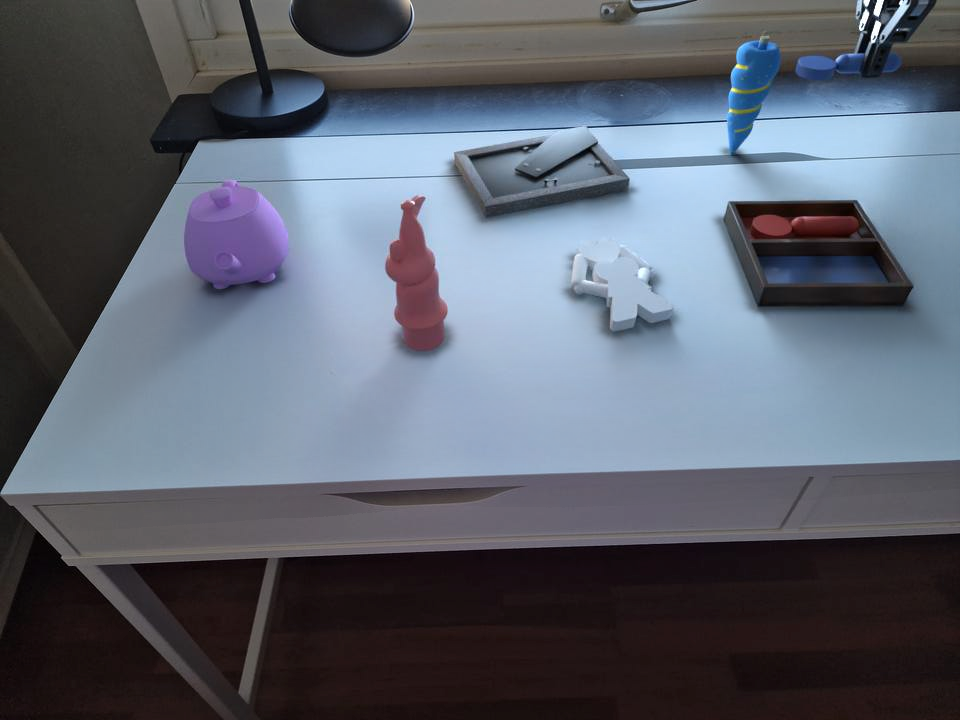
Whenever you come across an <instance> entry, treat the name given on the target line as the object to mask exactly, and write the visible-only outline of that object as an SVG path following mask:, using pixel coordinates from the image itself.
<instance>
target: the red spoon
mask: <svg viewBox="0 0 960 720" xmlns="http://www.w3.org/2000/svg"><path fill="white" fill-rule="evenodd" d="M858 227H859V223H858V221H857V219H856V218H854V217H851V216H821V217H797V218H795V219H794V220H793V221H792V222H791V224H790V223H789V222H788V221H787V220H786V219H784V218H782V217H779V216H776V215H760V216H758V217H756V218H755V219H754V220H753V223H752V226H751V229H750V233H751V235H752V237H753V238H754V239H789V236H790V233H791V231H792V233H793V234H795V235H798V236H824V235H852V234H854V233H855V232H856V231H857V229H858Z"/></svg>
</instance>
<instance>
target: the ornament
mask: <svg viewBox="0 0 960 720" xmlns="http://www.w3.org/2000/svg"><path fill="white" fill-rule="evenodd" d="M765 32H766V30H765V31H762V34H764V33H765ZM767 32H768V33H770V31H769V30H767ZM781 61H782V60H781V50H780V47H778V45H777V44H776V43H773V42H770V34H768V35H761V36H760V38H759V40H751V41H748V42H745V43H743V44H742V45H740V47H738V49H737V52H736V65H735V66H734V68H733V69H732V71H731V72H730V74H731V75H730V83H731V89H730V91H729V93H728V104H729V105H728V106H729V110H728V112H727V115H726V125H727V126H726V127H727V135H728V149H729V152H730V153H736V152H737V151H738V149H739V148H740V147H741V146H742V145H743V143H744V142H745V141H746V139H747V138H748V137H749V136H750V135H751V133H752V131H753V128H754V122H755V121H756V120H757V118H758V116H759V115H760V113H761V109H762V106H763V102H764V101H765V99H766V98H767V96H768V95H769V93H770V91H771V88H772V82H773V80H774V78H775V77H776V76H777V74H778V71H779V69H780V67H781Z"/></svg>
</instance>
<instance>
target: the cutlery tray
mask: <svg viewBox="0 0 960 720" xmlns="http://www.w3.org/2000/svg"><path fill="white" fill-rule="evenodd" d="M760 215H776V216H779V217H782V218H784V219H786V220H787V221H788V222H789V223H790V224H791V222H792V221H793V220H794V219H795V218H797V217H821V216H851V217H854V218H856V219H857V221H858V223H859V227H858V229H857V231H856V232H855V233H854V234H852V235H824V236H798V235H795V234H793V233H792V231H791V233H790V236H789V239H754V238H753V237H752V235H751V233H750V229H751V226H752V223H753V220H754V219H755V218H756V217H758V216H760ZM723 223H724V225H725V228H726V230H727V232H728V235H729V238H730V240H731V243H732V245H733V248H734V250H735V253H736V255H737V258H738V261H739V263H740V266H741V269H742V271H743V274H744V276H745V278H746V281H747V284H748V286H749V289H750V291H751V294H752V297H753V299H754V301H755V304H756V307H758V308H760V307H763V308H764V307H765V308H766V307H767V308H769V307H772V308H773V307H774V308H775V307H780V308H781V307H784V308H785V307H903V306H905V303H906V302H907V300H908V298H909V296H910V294H911V292H912V290H913V289H914V287H915V286H914V284H913V282H912V281H911V279H910V278H909V276H908V275H907V274H906V272H905V271H904V269H903V267H902V266H901V264H900V263H899V261H898V260H897V258H896V257H895V255H894V254H893V252H892V250H891V249H890V248H889V246H888V245H887V243H886V242H885V240H884V238H883V237H882V235H881V234H880V233H879V231H878V229H877V228H876V227H875V225H874V223H873V222H872V221H871V219H870V217H869V216H868V215H867V213H866V212H865V210H864V208H863V207H862V205H861V203H860V202H859V201H858V200H857V199H818V200H816V199H815V200H814V199H813V200H811V199H810V200H805V199H804V200H729V201H728V202H727V205H726V209H725V213H724V216H723Z"/></svg>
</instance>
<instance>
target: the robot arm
mask: <svg viewBox="0 0 960 720" xmlns="http://www.w3.org/2000/svg"><path fill="white" fill-rule="evenodd" d="M937 1H938V0H857V1H856V9H855V19H856V20H860V22H859V26H858V29H859V32H860V34H859V36H858V37H859V38H858V40H857V43H856V45H855V49H854V53H853V54H860V53H865V56H864V59H863V61H862V65H861V68H860V70H859V73H858V74H859V76H860V77H861V78H862V79H877V78H879V77H881V76H882V74H883V73H882V71H883V69H884V66H885V64H886V61H887V58H888V56H889V53H891V50H892V48H893V45H895V44H906V43H908V41H909V40H910V39H911V38H912V36H913V35H914V34H915V32H916V31H917V30H918V28H919V27H920V26H921V24H922V23H923V22H924V21H925V19H926V18H927V17H928V15H929V14H930V13H931V11H932V10H933V9H934V7H935V6H936V5H937Z"/></svg>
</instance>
